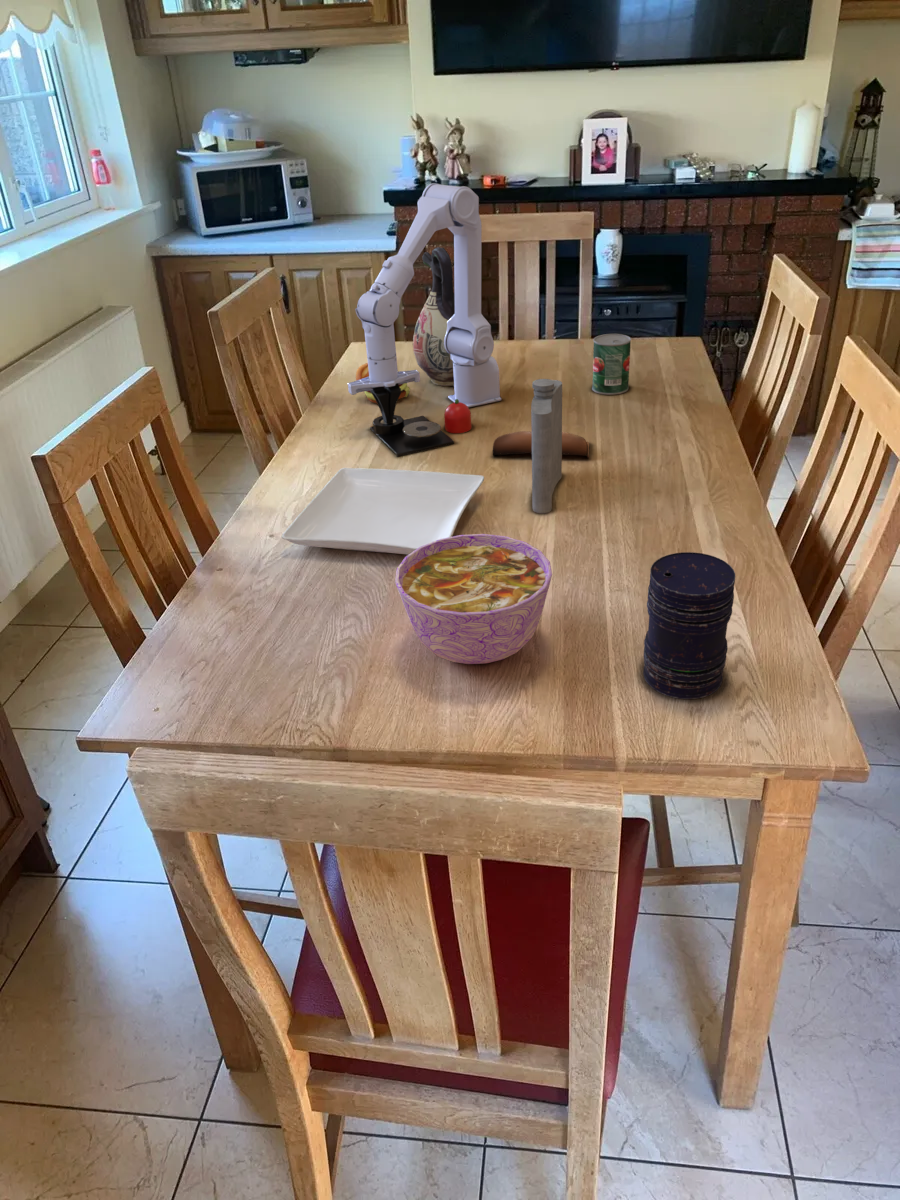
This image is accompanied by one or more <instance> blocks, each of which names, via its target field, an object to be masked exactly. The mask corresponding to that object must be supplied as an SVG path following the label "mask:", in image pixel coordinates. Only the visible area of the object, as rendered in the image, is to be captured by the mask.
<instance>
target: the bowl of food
mask: <svg viewBox="0 0 900 1200" xmlns="http://www.w3.org/2000/svg"><path fill="white" fill-rule="evenodd" d="M395 570H396V571H395V572H396V573H395V580H394V583H395V585H396V588H397V592H398V593H399V596H400V599H401V601H402V605H403V606H404V609H405V613H406V614H407V617H408V619H409V622H410V624H411V626H412V628H413V630H414V633H415V634H416V636H417V638H418V640H419V642H420V643H421V644H422V645H423V646H424V647H426V649H428V650H429V651H430V652H432V653H433V654H434V655H435V656H436V657H438V658H441V659H443V660H447V661H449V662H450V663H451V662H453V663H460V664H466V665H479V664H481V665H482V664H489V663H493V662H497V661H501V660H502V661H503V660H504V659H507V658H509V657H511V656H512V655H515V654H517V653H518V652H519V651H520V650H521V649H523V648H524V647H525V645H527V644H528V642H529V641H530V640H531V639H532V638H533V637H534V635H535V632H536V630H537V628H538V626H539V622H540V619H541V617H542V614H543V610H544V607H545V603H546V599H547V595H548V592H549V589H550V585H551V581H552V578H553V572H552V566H551V561H550V560H549V559H548V558H547V557H546V555H545V554H544V552H542V551H541V550H540V549H538V548H536V547H535V546H533V545H531V544H529V543H528V542H526V541H523V540H519V539H516V538H513V537H510V536H506V535H496V534H487V533H476V534H475V533H474V534H459V535H454V536H453V535H452V537H449V538H444V539H439V540H436V541H434V542H431V543H429V544H426V545H424V546H421V547H419V548H418V549H416V550H415V551H413V552H412V553H410V554H409V555H408V554H406V556H404V558H403V560H401V562H400V564H399V565H398V566H397V568H396V569H395Z"/></svg>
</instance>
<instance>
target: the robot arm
mask: <svg viewBox="0 0 900 1200" xmlns="http://www.w3.org/2000/svg"><path fill="white" fill-rule="evenodd" d="M479 202H480V198H479V196H478V194H477V193H475V191H473V190H472V188H471V187H469V186H466V185H465V186H464V185H462V186H458V185H447V184H440V183H435V182H432V183H430V184H428V185H427V186H426V187H424V190H423V192H422V195H421V196H420V197H419V199H417V213H416V214H415V217H414V219H413V221H412V224H410V225H411V226H410V227H409V230H408V232H407V234H406V236H405V238H404V240H403V242H402V244H401V246H400V248H399V250H398V252H397V253H396V254H395V255H392V256H389V257H388V258H387V260H386V259H385V260H384V261H383V263H382V265H381V266H382V267H381V269H380V272H379V274H378V275H377V276H376V278H375V280H374V282H373V283H372V284H371V286H370V289H369V290H368V291H366V292H364V293H363V294H362V295H360V296H359V299H358V300H357V305H356V308H355V309H354V310H355V315H356V316H357V318H358V319H359V320H360V322H361V327H362V329H363V330H364V340H365V349H366V358H367V359H366V360H367V363H368V369H369V376H368V377H366V378H363V379H360V380H357V381H356V380H354V381H350V382H347V389H348V393H349V394H350V395H351V396H356V395H357V394H358V393H365V392H364V391H369V390H370V392H371V393H372V395H373V396H374V398H375V400H376V402H377V403H376V404H377V406H378V408H379V410H380V413H381V416H382V417H383V421H384V422H385V423H392V422H393V416H394V415H395V411H396V406H397V403H398V398H399V396H400V394H401V388H400V387H399V384H404V383H407V384H408V383H413V382H414V383H419V382H421V373H420V371H418V369H411V370H401V371H400V370H399V369H398V357H397V348H396V337H395V336H396V335H395V325H394V323H395V322H396V320H397V319H398V318H399V315H400V304H401V301H402V297H403V295H404V293H405V292H406V290H407V288H408V286H409V285H410V282H412V279H413V278H414V276H415V270H414V264H415V262H416V261H417V259H418V258H419V256H420V255H421V253H422V252H423V251H424V249H425V247H426V245H427V244H428V243H429V241H430V240H431V238H433V235H434V234H435V232H436V231H440V230H444V229H448V230H449V231H450V232H451V233H452V234H453V260H454V261H453V264H454V265H453V266H454V271H453V274H454V275H453V282H454V293H455V314H454V316H452V317H451V318H450V319H449V320H448V322H447V332H446V335H445V338H444V346H445V349H446V351H447V352H448V353H449V354H450V357H451V360H453V374H454V386H453V387H454V390H453V391H454V393H453V394H449V395H448V396H447V399H449V400H450V401H451V402H452V403H454V402H455V399H458V400H459V402H461V403H463V404H465V405H466V406H467V407H468V408H472V407H477V406H482V405H487V404H491V403H496V402H500V401H502V397H501V388H500V385H501V383H500V368H499V364H498V362H497V360H496V358H495V357H494V356H492V354H493V352H494V349H495V343H494V341H495V340H494V338H493V335H492V326H491V324H490V323H489V322H488V320H487V319H486V318H485V316H484V315H483V314H482V230H483V229H482V228H483V226H482V225H483V224H482V219H481V216H480V213H479V209H480V208H479V207H480V203H479Z"/></svg>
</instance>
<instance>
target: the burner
mask: <svg viewBox="0 0 900 1200" xmlns="http://www.w3.org/2000/svg"><path fill="white" fill-rule="evenodd" d="M429 421H430V420H429ZM429 421H421V422H414V423H411V424H408V425H406V426H405V427H404V428H403V433H404V434H405V435H407V436H411V437H427V436H432V435H435V434H437V433H438V432H439V431H440V430H441V429H442V427H441V425H440V424H439V423H437V422H434V421H430V422H429ZM441 431H442V430H441Z"/></svg>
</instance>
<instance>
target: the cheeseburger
mask: <svg viewBox="0 0 900 1200" xmlns="http://www.w3.org/2000/svg"><path fill="white" fill-rule="evenodd" d="M368 376H369V369H368V362H365V363H364V364H361V365H360V366H358V368H357V369H356V371H355V381H357V380H360V379H363V378H366V377H368ZM399 387H400V388H401V394H400V396H399V398H398V400H401V399H403V398H407V397H408V396H409V394H410V392H411V391H410V386H408V383H404V384H399ZM363 393H364V395H366V398H367V400H368V401H369V402H371V403H374V404H377V402H376V400H375V398H374V396H373V395H372V393H371V392H370V390H369V391H364V392H363Z"/></svg>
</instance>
